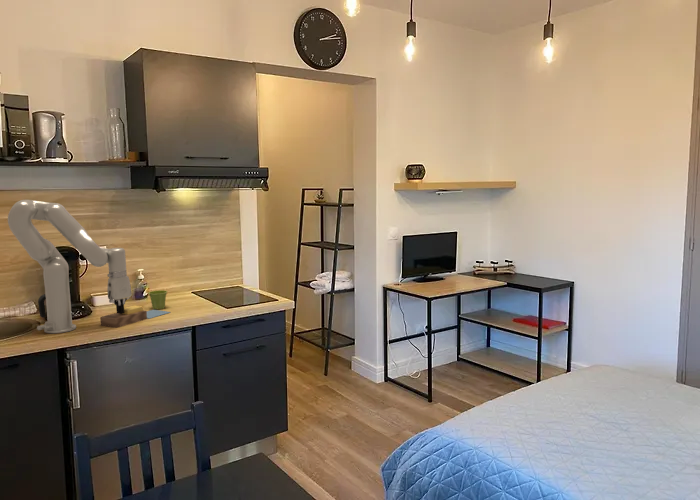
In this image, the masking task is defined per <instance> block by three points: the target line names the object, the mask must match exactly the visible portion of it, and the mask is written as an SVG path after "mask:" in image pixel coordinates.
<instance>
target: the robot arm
mask: <svg viewBox="0 0 700 500" xmlns="http://www.w3.org/2000/svg"><path fill="white" fill-rule="evenodd" d="M32 220H37V221H46V222H49V223H50V224H51V226H53V227H54V228H55V229H56V230H57V231H58V232H59V233H60V234H61V235H62V236H63V238H65V239H66V240H67V241H68V242H69V243H70V245H72V246H73V247H74V248H75V249H76V250H77V251H78V252H79V253H80V254H81V256H83V257H84V258H85V259H86V261H88V262H89V264H91V265H92V266H94V267H97V268H100V267H104V266H106V264H107V265H108V273H107V275H106V276H107V278H108V280H107V290H106V291H107V299H108V303H112V304H114V305H115V306H116V309H115V310H116V313H119V314H122V313H124V308H125V304H126V302H127V300H129V299H130V298H131V296H132V294H133V293H132V287H131V281H130V278H129V276H128V275H127V261H126V260H127V259H126V250H125V248H124V247H112V248H102V247H100V246H99V245H98V244H97V243H96V242H95V240H94V239H93V238H92V237H91V236H90V234H88V231H87V230H86V229H85V227H83V226H82V224H80V222H79V221H78V220H77V219H76V218H75V217H74V216H73V215H72V214H70V212H69V211H68V210H67V209H66V207H65V206H64V205H62V204H61V203H57V202H47V201H40V200H33V199H21V200H18V201H16V202H15V203H14V204H13V205H12V207H11V208H10V210H9V212H8V215H7V225H8V228H9V230H10V231H11V232H12V234H13V236H14V237H15V238H16V240H17V241H18V242H19V244H20V245H21V246H22V248H23V249H24V250H25V251H26V253H27V255H28V256H29V257H30V258H31V259H32V260H34V261H35V262H37V263H38V264H39V265H40V266H41V268H42V269H43V281H44V283H43V284H44V294H45V295H46V299H45V303H46V305H45V307H46V316H47V318H46V319H47V321H45V323H43V324H41V325H40V324H39V325H37V327H36V330H37V331H41V330H44V333H47V334H62V333H67V332H71V331H74V330H76V329H77V325H76V324H75V323H73V319H72V305H71V304H72V303H71V302H72V301H71V293H70V279H69V278H70V277H69V271H70V270H69V264H68V262H67V260H66V259H65V257H64V256H63V255H62V254H61V253H60V252H59V250H58V249H57V248H56V246H55V245H54V244H53V243H52V242H51V241H50V240H49V239H47V238H44V237H43V236H42V234H41V233H40V231H39V230H38V229H37V227H36V226H35V225H34V224H33V222H32Z"/></svg>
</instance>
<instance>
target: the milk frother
mask: <svg viewBox="0 0 700 500" xmlns="http://www.w3.org/2000/svg"><path fill="white" fill-rule="evenodd" d="M45 302H46V295H45V293H44V294H42V295H40V296H39V298H38V300H37V304H38V310H39V317H40V318H43V319H44V318H46V316H47V312H46V305H45Z"/></svg>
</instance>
